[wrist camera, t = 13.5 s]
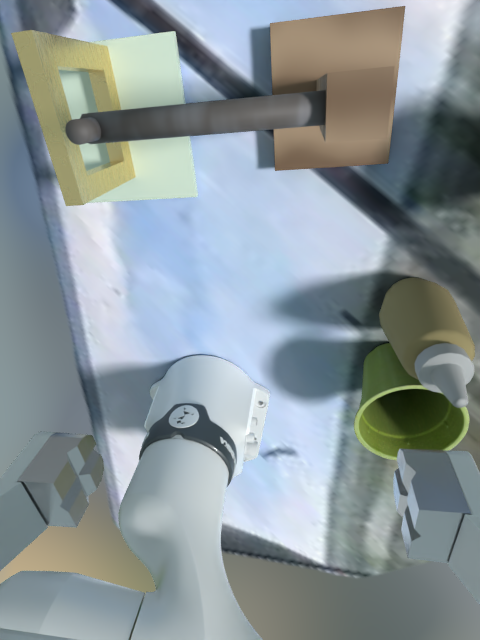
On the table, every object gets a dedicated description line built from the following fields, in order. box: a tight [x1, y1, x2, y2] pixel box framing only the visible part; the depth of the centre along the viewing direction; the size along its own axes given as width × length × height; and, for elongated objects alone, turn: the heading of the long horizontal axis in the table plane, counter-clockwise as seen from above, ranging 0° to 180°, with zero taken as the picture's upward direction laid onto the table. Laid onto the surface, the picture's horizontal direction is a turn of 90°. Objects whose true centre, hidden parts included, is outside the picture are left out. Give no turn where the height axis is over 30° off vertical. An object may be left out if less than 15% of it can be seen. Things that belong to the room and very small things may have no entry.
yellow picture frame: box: [11, 30, 136, 206], centre depth 35 cm, size 12×2×12 cm, turn 5°
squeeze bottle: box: [379, 277, 475, 408], centre depth 38 cm, size 8×8×18 cm
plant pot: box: [354, 343, 469, 460], centre depth 47 cm, size 12×12×11 cm
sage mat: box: [58, 31, 198, 203], centre depth 40 cm, size 15×15×1 cm
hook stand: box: [65, 6, 405, 171], centre depth 28 cm, size 12×20×22 cm, turn 95°
